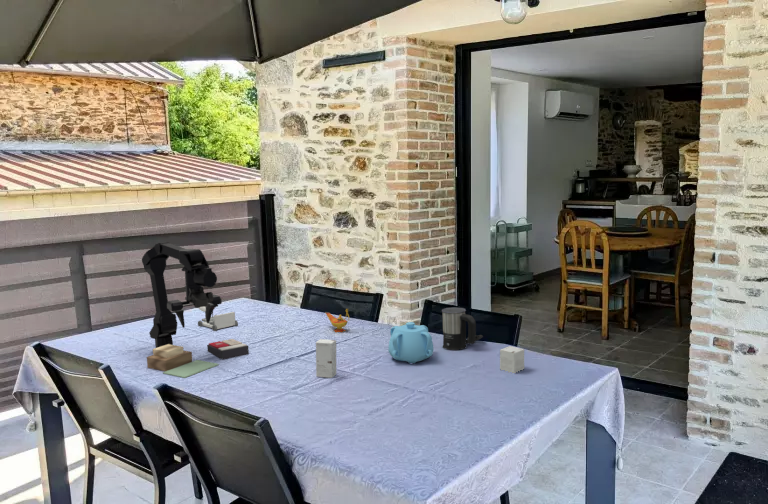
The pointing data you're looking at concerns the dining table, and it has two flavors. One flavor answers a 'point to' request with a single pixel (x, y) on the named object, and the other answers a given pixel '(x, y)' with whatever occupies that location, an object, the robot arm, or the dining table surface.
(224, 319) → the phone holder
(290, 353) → the dining table surface
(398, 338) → the decorative pot
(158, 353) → the birch tile
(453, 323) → the milk frother
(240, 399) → the dining table surface
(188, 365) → the mat
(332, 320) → the magic lamp
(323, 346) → the white miniature cabinet
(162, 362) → the brown wooden block
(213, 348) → the calculator
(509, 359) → the skincare box
